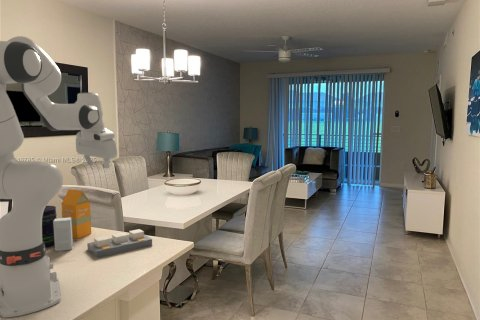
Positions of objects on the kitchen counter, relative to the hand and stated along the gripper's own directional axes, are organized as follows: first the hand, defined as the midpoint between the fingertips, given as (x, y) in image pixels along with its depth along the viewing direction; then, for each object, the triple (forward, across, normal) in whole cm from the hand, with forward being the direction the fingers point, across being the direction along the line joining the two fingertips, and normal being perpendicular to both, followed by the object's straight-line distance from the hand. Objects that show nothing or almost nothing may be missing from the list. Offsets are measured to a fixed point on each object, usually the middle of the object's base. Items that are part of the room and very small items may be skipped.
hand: (98, 166), depth 148 cm
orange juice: (+32, -14, -5) cm, 35 cm away
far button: (+29, +16, +1) cm, 33 cm away
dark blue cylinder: (+30, -14, -19) cm, 38 cm away
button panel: (+30, +14, -6) cm, 34 cm away
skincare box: (+29, -3, -18) cm, 35 cm away
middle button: (+28, +14, -6) cm, 32 cm away
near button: (+27, +11, -12) cm, 32 cm away
